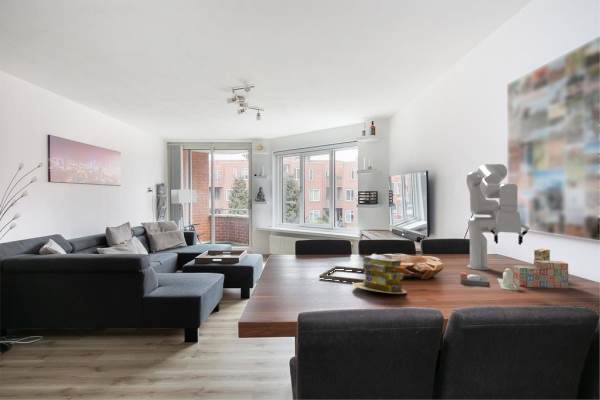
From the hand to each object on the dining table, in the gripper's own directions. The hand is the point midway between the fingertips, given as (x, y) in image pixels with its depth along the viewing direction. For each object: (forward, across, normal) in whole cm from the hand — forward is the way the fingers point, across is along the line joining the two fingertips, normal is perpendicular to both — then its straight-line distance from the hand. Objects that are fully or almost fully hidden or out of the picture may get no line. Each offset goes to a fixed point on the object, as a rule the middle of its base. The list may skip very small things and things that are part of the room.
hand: (508, 243), depth 161 cm
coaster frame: (+21, -77, -12) cm, 81 cm away
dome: (+20, -15, +3) cm, 25 cm away
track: (+21, 0, +5) cm, 22 cm away
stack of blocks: (+22, +15, +9) cm, 28 cm away
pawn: (+21, 0, -1) cm, 21 cm away
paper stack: (+21, -56, -34) cm, 69 cm away
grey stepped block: (+21, -15, +3) cm, 26 cm away
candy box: (+22, +19, +29) cm, 41 cm away
